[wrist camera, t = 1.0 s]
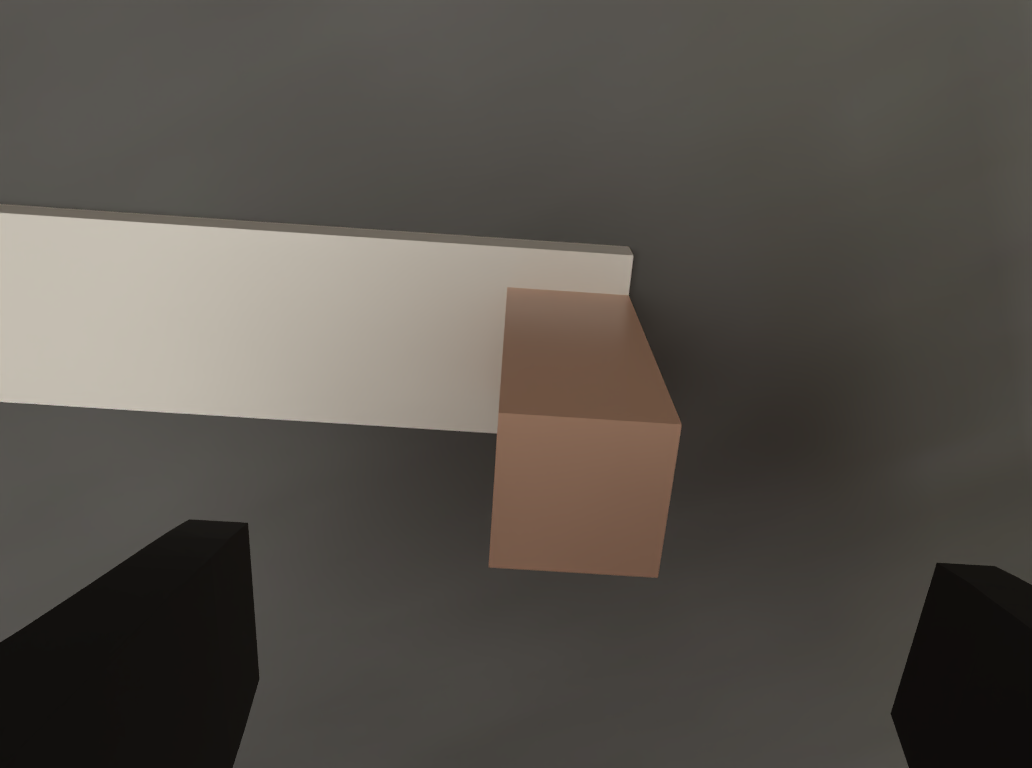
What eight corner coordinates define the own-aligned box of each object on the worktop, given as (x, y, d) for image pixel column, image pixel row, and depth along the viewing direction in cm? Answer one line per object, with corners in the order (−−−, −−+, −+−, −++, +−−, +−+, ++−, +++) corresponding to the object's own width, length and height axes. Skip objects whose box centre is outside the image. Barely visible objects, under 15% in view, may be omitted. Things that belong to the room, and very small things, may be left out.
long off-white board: (627, 244, 17) (690, 367, 11) (606, 420, 19) (650, 623, 12) (-224, 186, 17) (-692, 278, 10) (-174, 370, 18) (-557, 551, 12)
